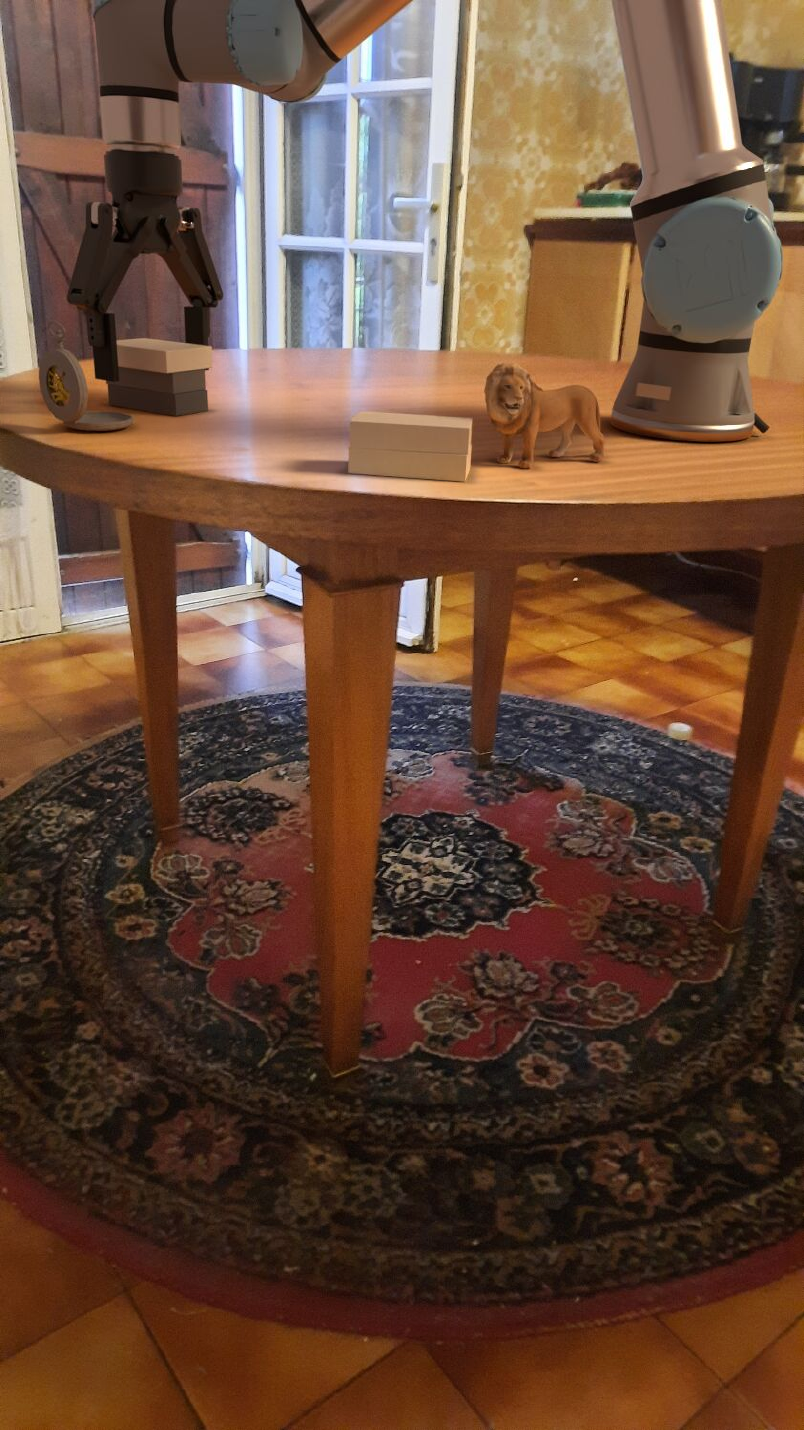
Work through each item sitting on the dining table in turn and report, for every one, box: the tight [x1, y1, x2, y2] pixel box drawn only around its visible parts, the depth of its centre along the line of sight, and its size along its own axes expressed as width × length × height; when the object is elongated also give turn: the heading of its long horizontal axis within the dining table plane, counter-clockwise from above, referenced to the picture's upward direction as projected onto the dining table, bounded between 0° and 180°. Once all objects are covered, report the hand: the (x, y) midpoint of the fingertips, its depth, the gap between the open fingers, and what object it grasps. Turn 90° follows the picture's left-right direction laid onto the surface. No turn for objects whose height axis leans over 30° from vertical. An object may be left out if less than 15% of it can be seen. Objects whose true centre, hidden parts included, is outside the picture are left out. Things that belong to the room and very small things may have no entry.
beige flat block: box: [116, 337, 213, 373], centre depth 109 cm, size 10×7×2 cm
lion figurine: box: [483, 361, 605, 470], centre depth 92 cm, size 15×5×9 cm, turn 127°
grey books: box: [105, 366, 209, 417], centre depth 111 cm, size 10×5×4 cm, turn 58°
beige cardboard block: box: [347, 410, 474, 483], centre depth 87 cm, size 10×5×4 cm, turn 82°
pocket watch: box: [38, 320, 134, 432], centre depth 97 cm, size 8×8×10 cm
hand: (154, 374), depth 110 cm, fingers open, 13 cm apart
